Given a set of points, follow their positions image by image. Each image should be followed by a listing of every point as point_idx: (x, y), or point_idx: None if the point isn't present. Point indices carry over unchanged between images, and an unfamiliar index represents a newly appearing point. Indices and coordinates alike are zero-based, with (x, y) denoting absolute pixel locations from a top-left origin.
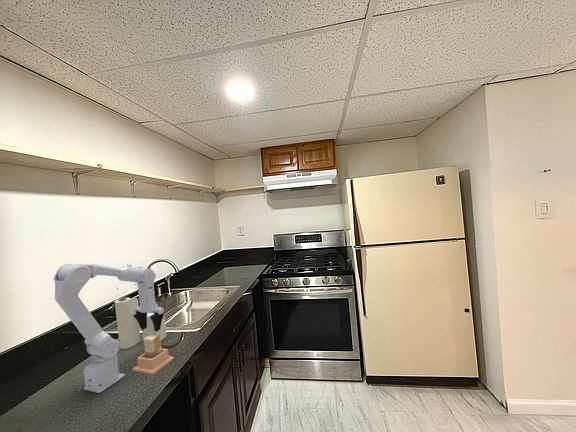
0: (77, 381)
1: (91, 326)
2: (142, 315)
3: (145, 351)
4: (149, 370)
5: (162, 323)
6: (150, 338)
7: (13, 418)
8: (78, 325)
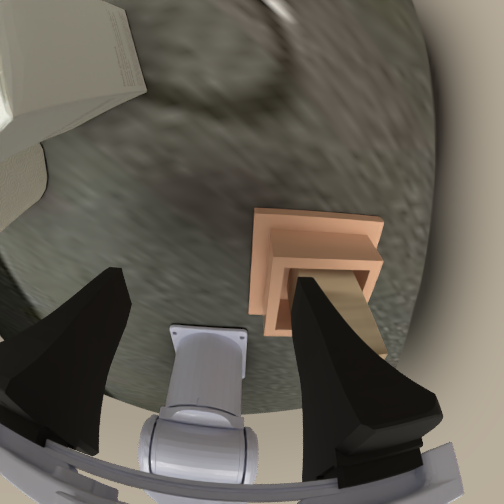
0: (120, 350)
1: None
2: (71, 406)
3: None
4: None
5: (76, 21)
6: None
7: (149, 407)
8: None
